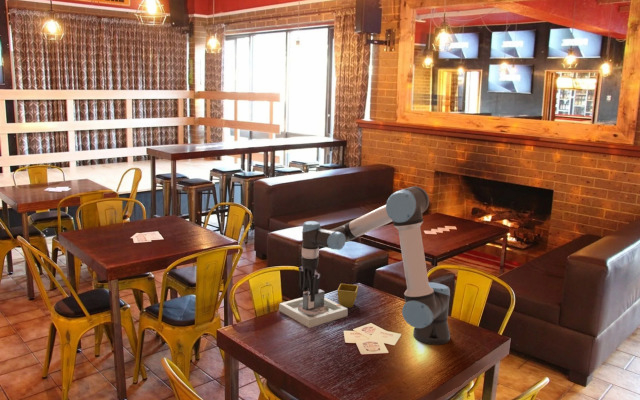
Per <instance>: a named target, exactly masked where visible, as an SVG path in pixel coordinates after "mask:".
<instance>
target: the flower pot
mask: <svg viewBox="0 0 640 400" xmlns="http://www.w3.org/2000/svg"><path fill="white" fill-rule="evenodd" d="M358 290H359V285H357V284H349V283H348V284H346V283H340V284H339V286H338V288H337V300H338V304H339V305H341V306H343V307H345V308H350V309H351V308H353V306H354V305H355V302H356V299H357V297H358Z"/></svg>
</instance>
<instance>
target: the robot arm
mask: <svg viewBox="0 0 640 400" xmlns="http://www.w3.org/2000/svg"><path fill="white" fill-rule="evenodd" d="M429 205H430V196H429V194H428V193H427V192H426V190H425V189H424V188H422V187H420V186H415V185H414V186H409V187H405V188H403V189H400V190H399V189H398V190H397V191H395V192H393V193H391V195H390V196H389V197H388V199H387V200H386V203H385V204H384V205H382V206H379V207H378V208H376V209H373V210H372V211H370V212H367V213H366V214H363V215H360V216H359V217H358V218H355V219H353V220H351V221H348V222H347V223H345V224H343V225H340V226H338V227H335V228H331V229H327V228H326V229H325V228H321V223H320V222H318V221H315V220H309V221H308V220H307V221H304V222H303V224H302V231H301V233H302V237H301V238H302V242H301V243H302V245H301V266H298V273H299V276H298V277H299V278H298V279H299V289H301V291H302V295H303V294H304V293H308V292H310V294H308V309H310V308H313V307H314V301H315V295H316V294H318V292H319V289H320V281H321V277H322V274H321V273H319V272H318V269H317V268H318V266H319V259H320V258H319V256H320V255H319V254H320V252H319V251H320V247H323V248H328V249H331V250H335V251H336V250H338V251H340V250H343V247H344V246H345V245H346V243H347V242H350V241H353V240H355V239H357V238H358V237H361V236H364V235H365V234H367V233H369V232H371V231H372V232H373V231H374V230H376V229H378V228H381V227H383V226H386V225H387V224H389V223H392V224H393V227H394V228H396V229H397V231H398V237H399V244H400V251H401V257H402V264H403V271H404V277H405V282H406V290H405V292H404V293H403V295H404V301H405V303H404V304H403V306H402V309H401V310H402V311H401V313H402V314H401V315H402V318H403V320H404V321H405V322H406V324H408V325H409V326H411V327H413V334H412V335H413V337H414V339H416V340H417V341H418V342H420V343H424V344H426V345H432V346H433V345H434V346H435V345H445V344H447V343H449V341H450V340H451V332H450V328H449V323H448V317H449V306H450V305H449V304H450V297H451V289H450V287H449V286H447V285H445V284H442V283H439V282H430V281H429V277H428V270H427V264H426V256H425V249H424V244H423V236H422V230H421V226H422V224H423V223H424V217H423V213H424V212H425V211H426V210H427V209H428V207H429Z"/></svg>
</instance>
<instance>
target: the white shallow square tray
mask: <svg viewBox="0 0 640 400" xmlns="http://www.w3.org/2000/svg"><path fill="white" fill-rule="evenodd" d="M300 303H303V296H302V297H299V298H294V299H291V300H288V301H283V302H280V303H279V306H278V311H279V312H281V313H282V314H284V315H286V316H288V317H289V318H290V319H291V318H292V319H293V320H295V321H296V322H299V323H300V324H302V325H303V326H306V327H307V328H309V329H310V328H312V327H317V326H320V325H323V324H325V323H326V324H327V323H329V322H332V321H336V320H339V319H343V318H346V317H348V313H349V311H348V310H349V309H348V307H343V306H341V305H340V304H339V303H337V302H335V301H334V300H331V299H329V298H327V297H325V296H324V303H325V304H327V305H328V307H329V312H326V313H324V314H320V315H317V316H314V317H313V316H307V315H305V314H303V313H301V312H299V311H298V305H299V304H300Z"/></svg>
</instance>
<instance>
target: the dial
mask: <svg viewBox="0 0 640 400" xmlns="http://www.w3.org/2000/svg"><path fill="white" fill-rule="evenodd" d="M325 293H326V292H325V290H323V289H320V288H319V292H318V294H316V295H315V301H314V307H313V308H310V309H308V294H310V291H309V292H308V293H304V294H303V293H302V297H303V303H300V304H299V305H298V311H299V312H301V313H303V314H305V315H307V316H313V317H314V316H317V315H320V314H324V313H326V312H329V307H328V305H327V304H325V303H324V297H325V295H326V294H325Z"/></svg>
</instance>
